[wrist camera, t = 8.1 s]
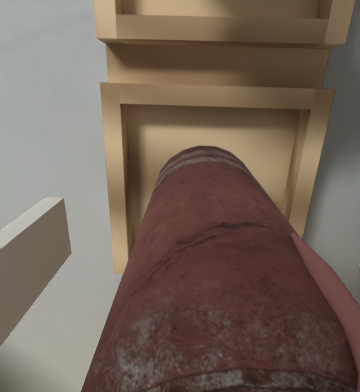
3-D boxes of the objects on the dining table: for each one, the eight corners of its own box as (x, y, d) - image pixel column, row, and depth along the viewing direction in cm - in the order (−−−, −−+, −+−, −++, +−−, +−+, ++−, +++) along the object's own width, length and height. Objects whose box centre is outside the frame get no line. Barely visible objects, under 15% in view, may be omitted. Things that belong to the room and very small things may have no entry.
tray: (93, -305, 11) (60, -442, 8) (387, -310, 11) (457, -454, 8) (125, 260, 21) (115, 285, 18) (276, 267, 21) (289, 294, 18)
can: (269, 161, 16) (599, 447, 3) (225, 243, 18) (313, 606, 5) (178, 123, 16) (123, 289, 3) (143, 213, 18) (21, 545, 5)
